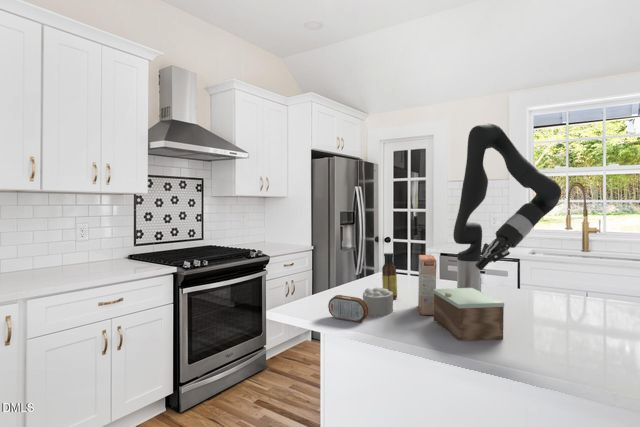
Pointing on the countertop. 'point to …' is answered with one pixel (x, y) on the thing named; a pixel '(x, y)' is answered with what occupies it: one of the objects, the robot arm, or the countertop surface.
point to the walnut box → (469, 321)
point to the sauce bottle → (389, 274)
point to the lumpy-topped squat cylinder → (378, 301)
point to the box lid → (467, 298)
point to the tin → (348, 308)
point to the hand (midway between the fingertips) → (478, 267)
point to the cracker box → (426, 284)
